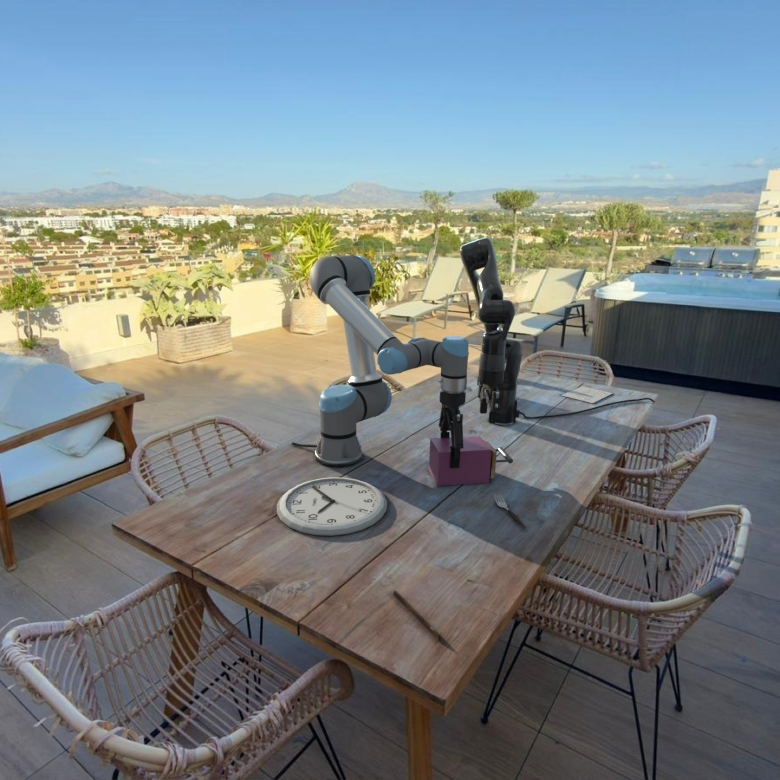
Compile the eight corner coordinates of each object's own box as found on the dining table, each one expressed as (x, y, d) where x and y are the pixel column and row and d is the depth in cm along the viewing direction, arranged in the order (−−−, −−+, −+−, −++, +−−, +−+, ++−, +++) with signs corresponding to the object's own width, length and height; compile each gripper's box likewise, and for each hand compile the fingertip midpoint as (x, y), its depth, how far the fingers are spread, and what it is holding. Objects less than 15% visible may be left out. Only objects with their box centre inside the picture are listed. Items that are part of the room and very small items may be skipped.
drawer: (500, 464, 167) (503, 438, 165) (512, 477, 159) (514, 450, 156) (439, 467, 164) (440, 441, 161) (447, 481, 155) (448, 454, 153)
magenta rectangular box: (477, 467, 167) (479, 435, 164) (488, 482, 157) (491, 449, 154) (428, 470, 164) (430, 438, 161) (437, 486, 154) (438, 452, 151)
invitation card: (582, 386, 254) (612, 393, 244) (582, 386, 255) (612, 393, 244) (561, 395, 240) (592, 402, 230) (561, 395, 240) (592, 403, 230)
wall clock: (392, 527, 129) (268, 531, 127) (391, 533, 130) (269, 537, 127) (383, 473, 158) (282, 475, 155) (383, 478, 158) (282, 480, 156)
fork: (520, 530, 132) (521, 523, 132) (492, 499, 147) (492, 493, 146) (529, 529, 133) (530, 522, 132) (500, 498, 147) (501, 492, 147)
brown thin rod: (392, 594, 108) (393, 590, 108) (394, 593, 109) (394, 589, 108) (438, 640, 96) (438, 636, 96) (440, 639, 97) (440, 635, 96)
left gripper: (430, 379, 162) (428, 444, 169) (451, 403, 140) (447, 477, 147) (454, 378, 163) (450, 443, 170) (478, 402, 142) (473, 475, 148)
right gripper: (472, 361, 162) (469, 410, 167) (487, 373, 149) (483, 426, 154) (495, 361, 163) (491, 410, 168) (512, 373, 150) (507, 425, 155)
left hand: (449, 459), depth 158 cm, fingers closed on magenta rectangular box, 11 cm apart
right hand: (487, 417), depth 161 cm, fingers open, 8 cm apart
